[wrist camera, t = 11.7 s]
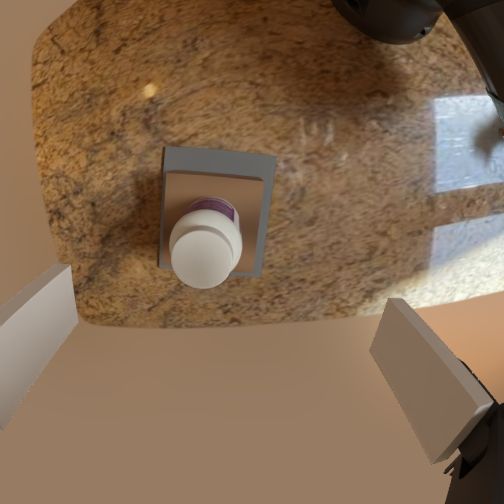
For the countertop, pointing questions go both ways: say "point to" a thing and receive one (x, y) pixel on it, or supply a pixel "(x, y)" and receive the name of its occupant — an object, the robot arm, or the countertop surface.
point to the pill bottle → (206, 243)
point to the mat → (227, 165)
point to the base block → (223, 186)
